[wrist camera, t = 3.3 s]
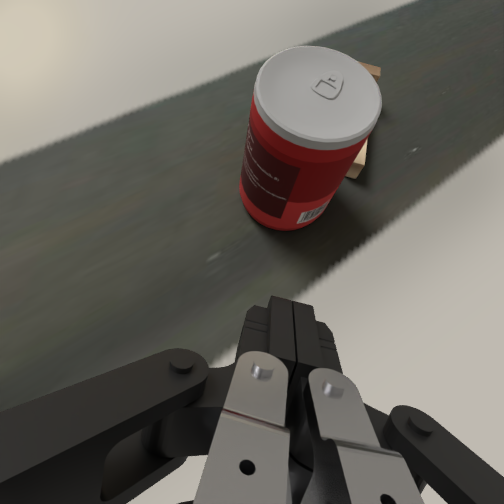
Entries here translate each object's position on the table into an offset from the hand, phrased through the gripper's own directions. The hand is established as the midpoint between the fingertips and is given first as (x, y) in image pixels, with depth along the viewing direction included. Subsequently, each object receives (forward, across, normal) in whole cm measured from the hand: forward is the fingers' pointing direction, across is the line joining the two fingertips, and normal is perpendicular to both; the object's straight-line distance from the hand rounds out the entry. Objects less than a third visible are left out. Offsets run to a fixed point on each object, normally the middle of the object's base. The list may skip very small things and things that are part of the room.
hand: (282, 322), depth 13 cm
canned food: (+20, 0, -1) cm, 20 cm away
